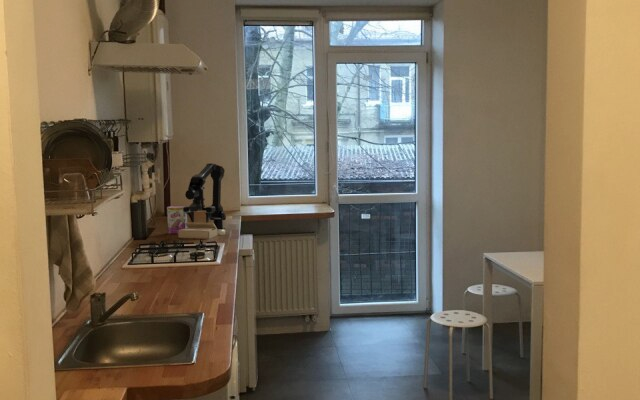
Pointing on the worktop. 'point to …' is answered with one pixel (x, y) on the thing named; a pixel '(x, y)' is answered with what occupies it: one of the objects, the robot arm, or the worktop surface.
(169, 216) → the candy bar box
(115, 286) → the worktop surface
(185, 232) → the small cream bookshelf
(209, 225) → the flap
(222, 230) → the cream dish
